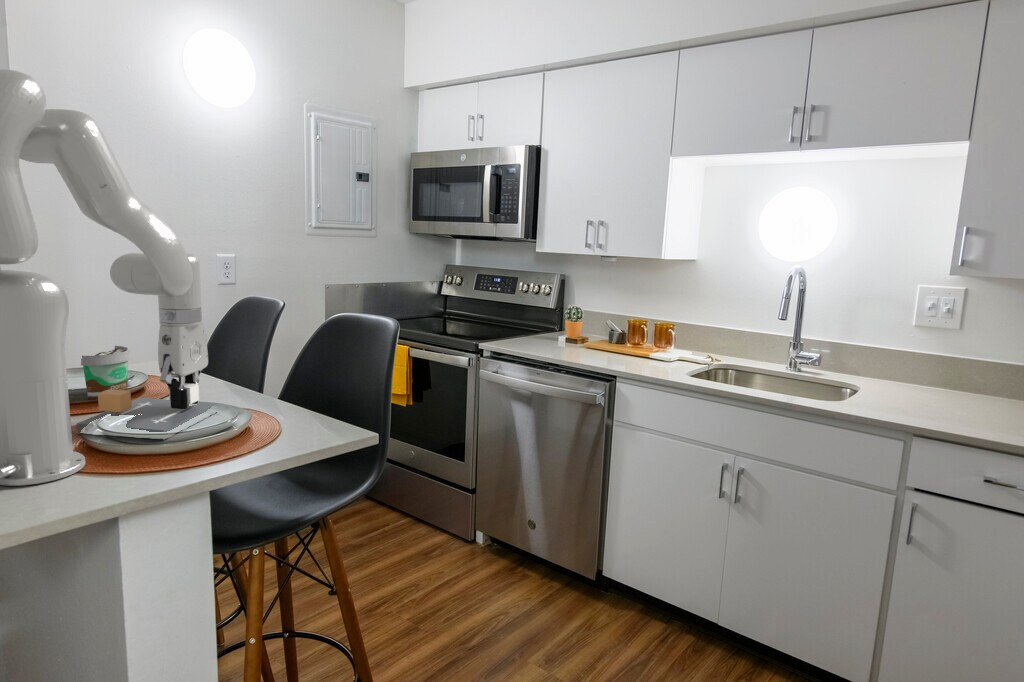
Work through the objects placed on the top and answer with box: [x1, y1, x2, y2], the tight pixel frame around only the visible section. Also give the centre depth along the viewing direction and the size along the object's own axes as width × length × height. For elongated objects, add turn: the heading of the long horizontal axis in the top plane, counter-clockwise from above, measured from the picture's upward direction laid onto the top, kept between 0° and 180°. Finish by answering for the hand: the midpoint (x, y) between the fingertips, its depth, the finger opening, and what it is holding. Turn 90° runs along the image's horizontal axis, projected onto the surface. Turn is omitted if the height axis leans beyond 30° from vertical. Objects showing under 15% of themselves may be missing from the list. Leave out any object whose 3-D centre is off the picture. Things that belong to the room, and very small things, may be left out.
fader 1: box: [97, 389, 132, 416], centre depth 123 cm, size 3×4×5 cm
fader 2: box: [168, 383, 200, 407], centre depth 130 cm, size 3×4×5 cm
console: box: [76, 397, 218, 435], centre depth 128 cm, size 18×17×2 cm
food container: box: [80, 345, 132, 401], centre depth 144 cm, size 12×6×10 cm, turn 179°
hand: (184, 404), depth 131 cm, fingers closed on fader 2, 3 cm apart
